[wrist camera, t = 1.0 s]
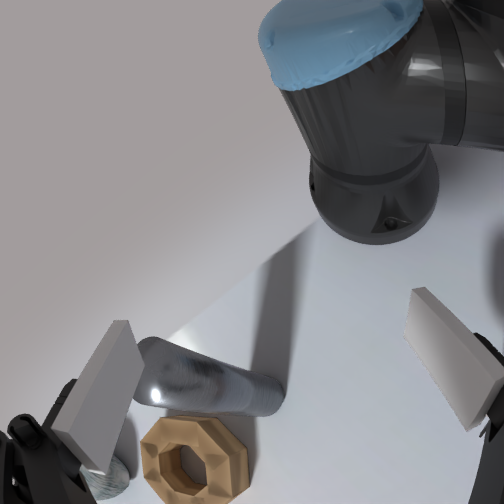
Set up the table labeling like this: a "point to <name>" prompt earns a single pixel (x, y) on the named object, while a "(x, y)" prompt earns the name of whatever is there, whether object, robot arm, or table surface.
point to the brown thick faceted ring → (207, 448)
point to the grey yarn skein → (107, 480)
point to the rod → (202, 383)
